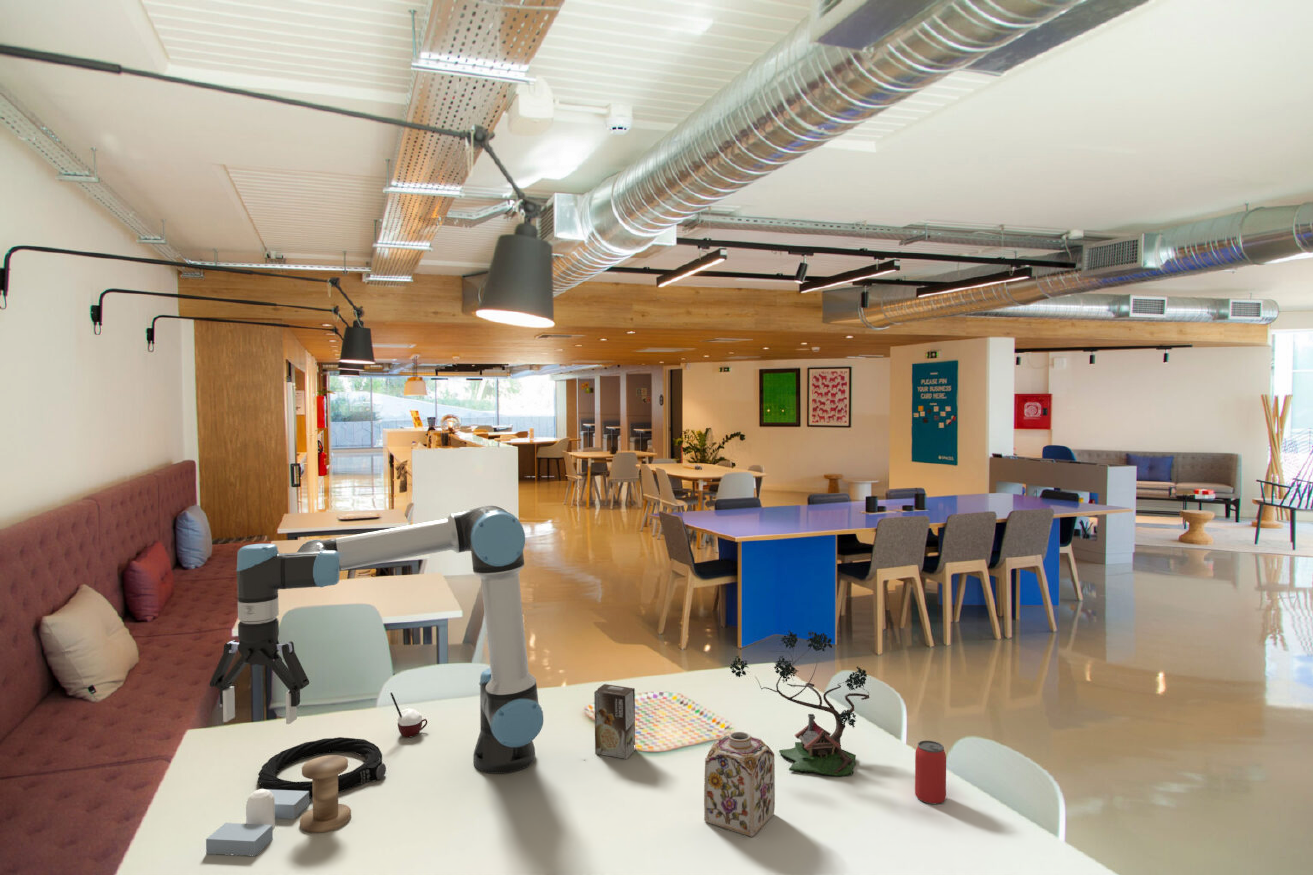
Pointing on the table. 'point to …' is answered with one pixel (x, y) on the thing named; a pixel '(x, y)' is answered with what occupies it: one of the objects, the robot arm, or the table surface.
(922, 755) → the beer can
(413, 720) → the cocoa
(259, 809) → the capsule
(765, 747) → the decorative jar
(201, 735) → the table surface
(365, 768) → the cable lock
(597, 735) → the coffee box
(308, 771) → the knob
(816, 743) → the bonsai tree
